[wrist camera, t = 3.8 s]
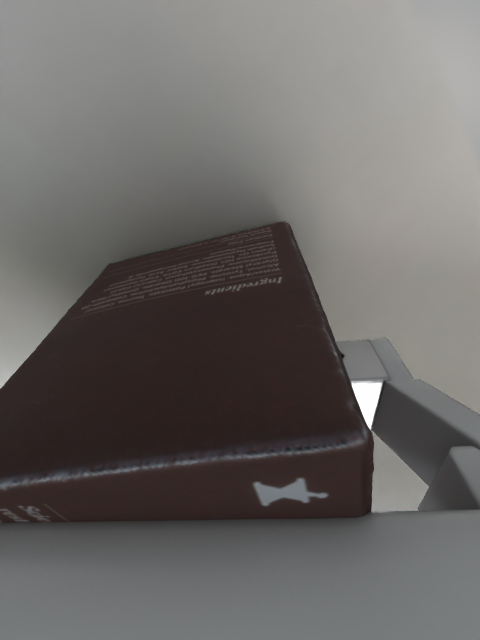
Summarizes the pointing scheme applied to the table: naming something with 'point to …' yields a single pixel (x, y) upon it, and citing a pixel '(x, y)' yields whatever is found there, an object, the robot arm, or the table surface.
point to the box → (188, 396)
